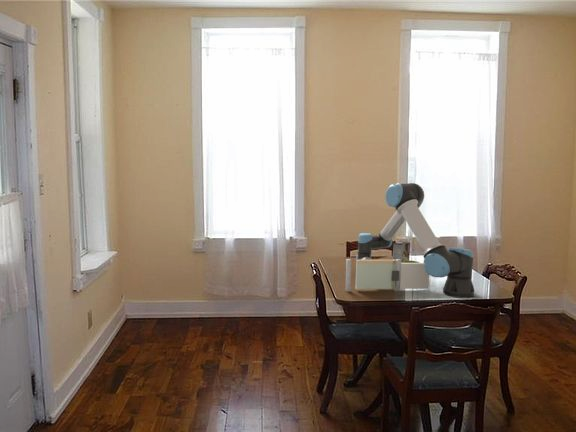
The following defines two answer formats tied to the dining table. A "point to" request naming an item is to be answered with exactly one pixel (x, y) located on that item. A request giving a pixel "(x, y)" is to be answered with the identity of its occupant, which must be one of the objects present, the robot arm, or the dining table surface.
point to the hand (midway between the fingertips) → (380, 276)
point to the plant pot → (409, 261)
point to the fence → (400, 276)
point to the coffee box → (401, 251)
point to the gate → (375, 274)
